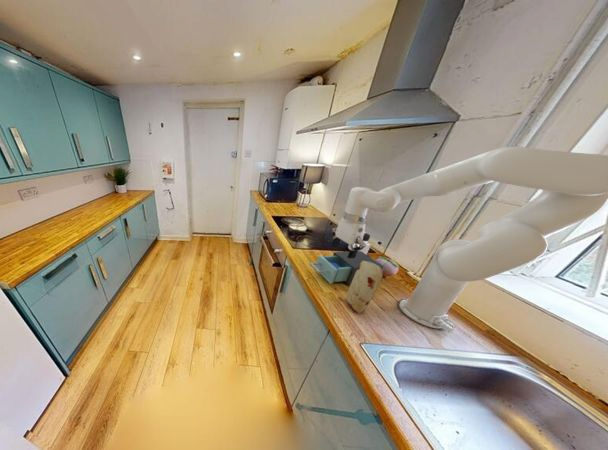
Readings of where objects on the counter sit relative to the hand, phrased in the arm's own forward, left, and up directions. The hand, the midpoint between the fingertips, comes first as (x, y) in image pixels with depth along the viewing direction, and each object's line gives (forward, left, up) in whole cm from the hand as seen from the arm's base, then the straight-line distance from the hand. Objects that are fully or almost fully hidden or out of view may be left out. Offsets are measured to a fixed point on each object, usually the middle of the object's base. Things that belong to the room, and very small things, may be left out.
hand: (342, 252), depth 90 cm
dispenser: (0, -9, -14) cm, 16 cm away
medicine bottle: (+20, -30, -14) cm, 38 cm away
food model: (-18, +5, -14) cm, 23 cm away
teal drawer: (0, +3, -13) cm, 13 cm away
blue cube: (0, +2, -12) cm, 12 cm away
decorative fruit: (-1, -25, -14) cm, 29 cm away
